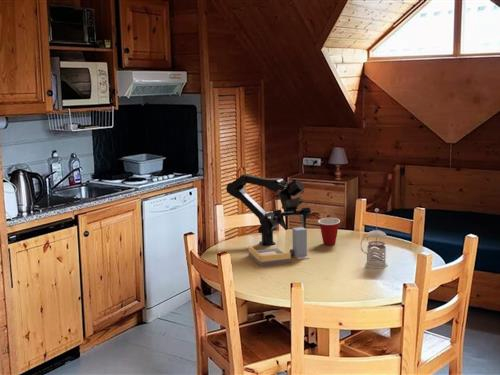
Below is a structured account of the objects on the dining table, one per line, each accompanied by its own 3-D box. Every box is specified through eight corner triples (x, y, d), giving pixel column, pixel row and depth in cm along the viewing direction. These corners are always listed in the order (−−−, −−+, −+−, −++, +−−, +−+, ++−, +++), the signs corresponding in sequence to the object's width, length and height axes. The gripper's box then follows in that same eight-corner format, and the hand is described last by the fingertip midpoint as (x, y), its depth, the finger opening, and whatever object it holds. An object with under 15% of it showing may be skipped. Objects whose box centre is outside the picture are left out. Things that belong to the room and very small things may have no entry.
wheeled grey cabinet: (289, 255, 273) (289, 227, 271) (304, 253, 275) (304, 226, 273) (296, 260, 265) (295, 231, 263) (311, 258, 267) (311, 230, 265)
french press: (388, 268, 249) (388, 211, 245) (360, 267, 252) (360, 210, 247) (387, 261, 259) (388, 206, 254) (360, 261, 261) (360, 205, 257)
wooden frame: (248, 255, 274) (248, 246, 273) (277, 252, 278) (277, 242, 277) (260, 266, 257) (260, 256, 256) (290, 262, 261) (290, 253, 260)
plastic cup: (314, 245, 288) (314, 221, 286) (322, 240, 297) (322, 216, 295) (335, 247, 283) (335, 223, 281) (343, 242, 292) (343, 218, 290)
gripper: (272, 193, 273) (281, 221, 265) (309, 190, 278) (319, 217, 270) (267, 206, 282) (275, 234, 273) (303, 203, 287) (312, 230, 279)
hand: (295, 229), depth 274 cm, fingers open, 9 cm apart
